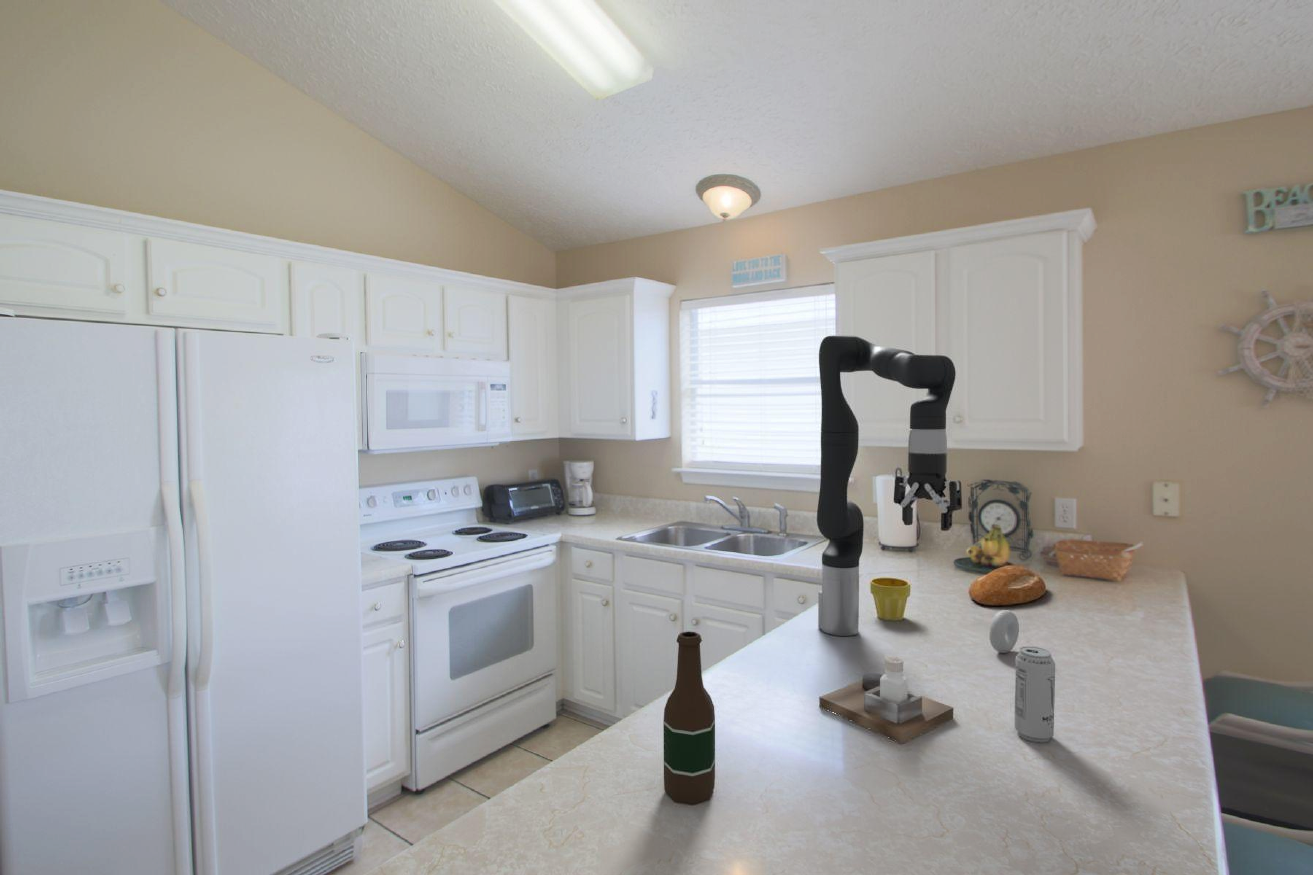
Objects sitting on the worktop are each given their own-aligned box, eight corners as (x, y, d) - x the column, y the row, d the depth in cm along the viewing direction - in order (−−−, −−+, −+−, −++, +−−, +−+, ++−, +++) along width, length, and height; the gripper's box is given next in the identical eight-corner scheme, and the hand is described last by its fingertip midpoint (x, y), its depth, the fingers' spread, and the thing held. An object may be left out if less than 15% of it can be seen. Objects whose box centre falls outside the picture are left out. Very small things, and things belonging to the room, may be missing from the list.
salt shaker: (887, 703, 127) (887, 654, 127) (908, 710, 125) (909, 659, 124) (878, 711, 124) (879, 660, 124) (900, 717, 122) (900, 665, 121)
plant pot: (868, 620, 183) (868, 584, 182) (871, 609, 192) (871, 575, 192) (909, 624, 179) (909, 588, 179) (910, 613, 189) (911, 578, 188)
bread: (1061, 591, 211) (1062, 563, 211) (1011, 614, 188) (1012, 582, 188) (1003, 580, 224) (1003, 554, 224) (950, 600, 202) (950, 571, 202)
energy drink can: (1052, 747, 115) (1054, 660, 114) (1012, 738, 118) (1014, 653, 117) (1054, 732, 120) (1056, 649, 119) (1015, 724, 123) (1017, 642, 122)
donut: (1001, 659, 154) (1001, 616, 154) (985, 655, 157) (986, 612, 157) (1021, 649, 161) (1022, 608, 160) (1006, 645, 163) (1007, 604, 163)
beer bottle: (661, 778, 106) (660, 626, 105) (710, 775, 107) (710, 624, 105) (666, 807, 98) (665, 644, 97) (719, 804, 99) (719, 642, 98)
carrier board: (819, 706, 131) (819, 681, 130) (870, 686, 140) (870, 662, 140) (902, 744, 116) (902, 715, 116) (953, 718, 126) (953, 691, 125)
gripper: (969, 451, 139) (968, 530, 140) (907, 448, 150) (906, 521, 151) (949, 453, 134) (948, 534, 135) (887, 449, 146) (886, 524, 147)
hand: (926, 527), depth 143 cm, fingers open, 8 cm apart
